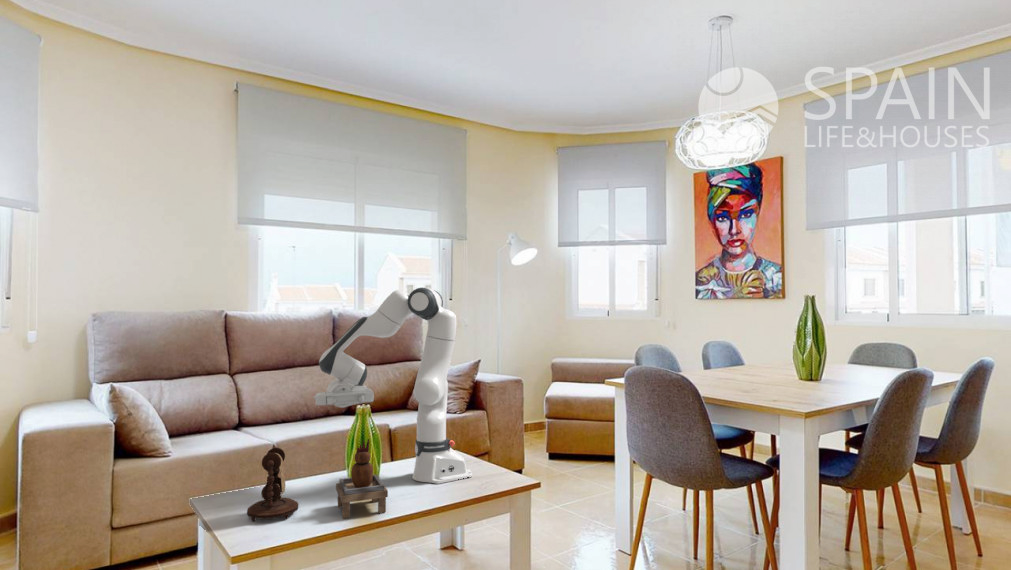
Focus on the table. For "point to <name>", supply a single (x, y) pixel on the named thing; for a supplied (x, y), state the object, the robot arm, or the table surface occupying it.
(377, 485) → the stool
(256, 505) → the dark brown tall figurine
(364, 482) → the wooden figurine
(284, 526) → the table surface
